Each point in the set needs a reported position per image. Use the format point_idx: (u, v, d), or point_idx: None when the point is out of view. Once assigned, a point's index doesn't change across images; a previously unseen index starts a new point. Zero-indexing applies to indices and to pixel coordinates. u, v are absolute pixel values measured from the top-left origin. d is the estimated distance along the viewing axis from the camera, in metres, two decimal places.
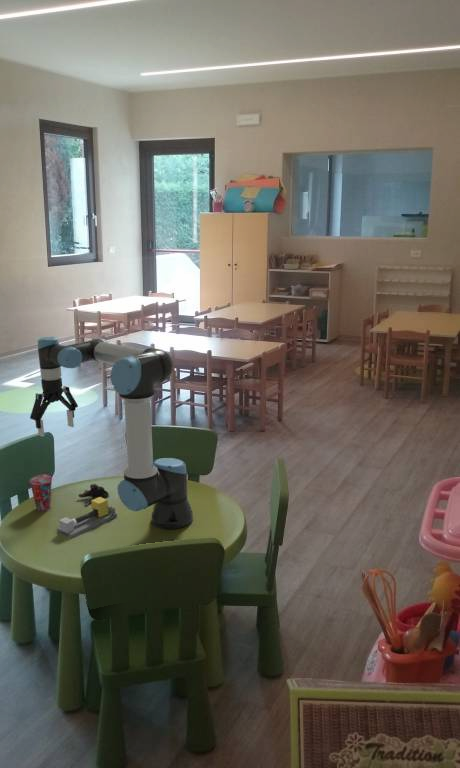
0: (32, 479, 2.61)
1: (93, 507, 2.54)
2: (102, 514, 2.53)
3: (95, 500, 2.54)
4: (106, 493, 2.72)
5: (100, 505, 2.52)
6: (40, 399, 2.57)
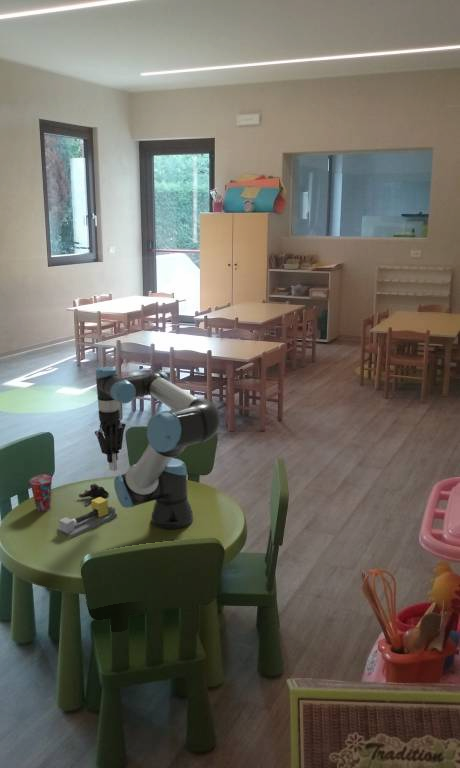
0: (32, 479, 2.61)
1: (93, 507, 2.54)
2: (102, 514, 2.53)
3: (95, 500, 2.54)
4: (106, 493, 2.72)
5: (100, 505, 2.52)
6: (101, 436, 2.48)
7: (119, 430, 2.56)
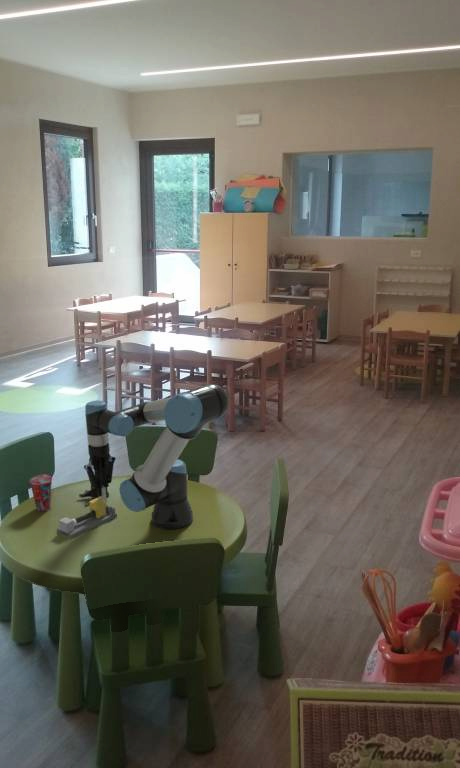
0: (32, 479, 2.61)
1: (91, 508, 2.53)
2: (100, 515, 2.52)
3: (93, 501, 2.53)
4: None
5: (97, 506, 2.51)
6: (91, 470, 2.47)
7: (109, 463, 2.54)
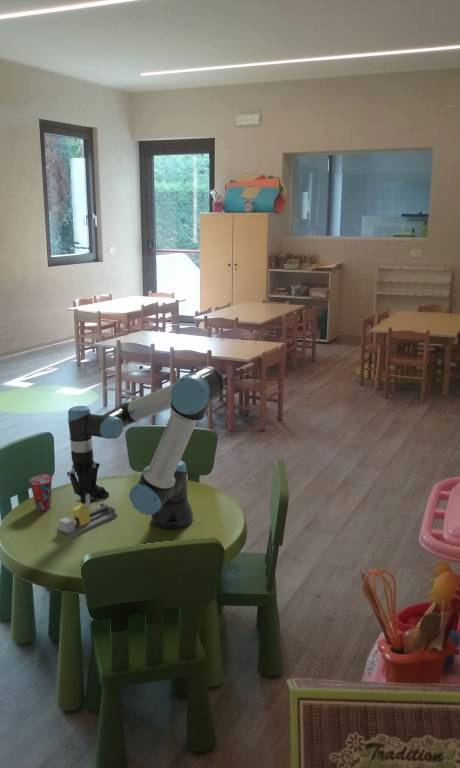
0: (32, 479, 2.61)
1: (74, 515, 2.48)
2: (83, 522, 2.47)
3: (76, 508, 2.48)
4: (106, 493, 2.72)
5: (81, 513, 2.45)
6: (74, 477, 2.42)
7: (93, 470, 2.49)
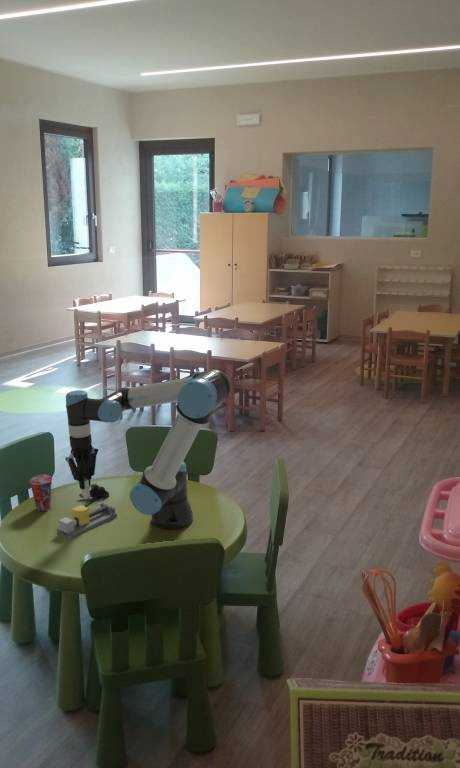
0: (32, 479, 2.61)
1: (74, 516, 2.48)
2: (83, 523, 2.47)
3: (76, 508, 2.47)
4: (107, 493, 2.72)
5: (80, 514, 2.45)
6: (72, 462, 2.40)
7: (91, 455, 2.47)
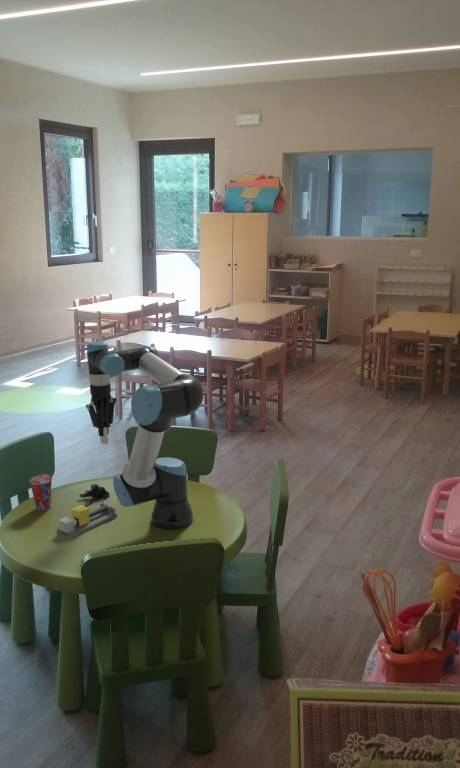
0: (32, 479, 2.61)
1: (74, 516, 2.48)
2: (83, 523, 2.47)
3: (76, 508, 2.47)
4: (107, 493, 2.72)
5: (80, 514, 2.45)
6: (92, 409, 2.53)
7: (110, 404, 2.61)
